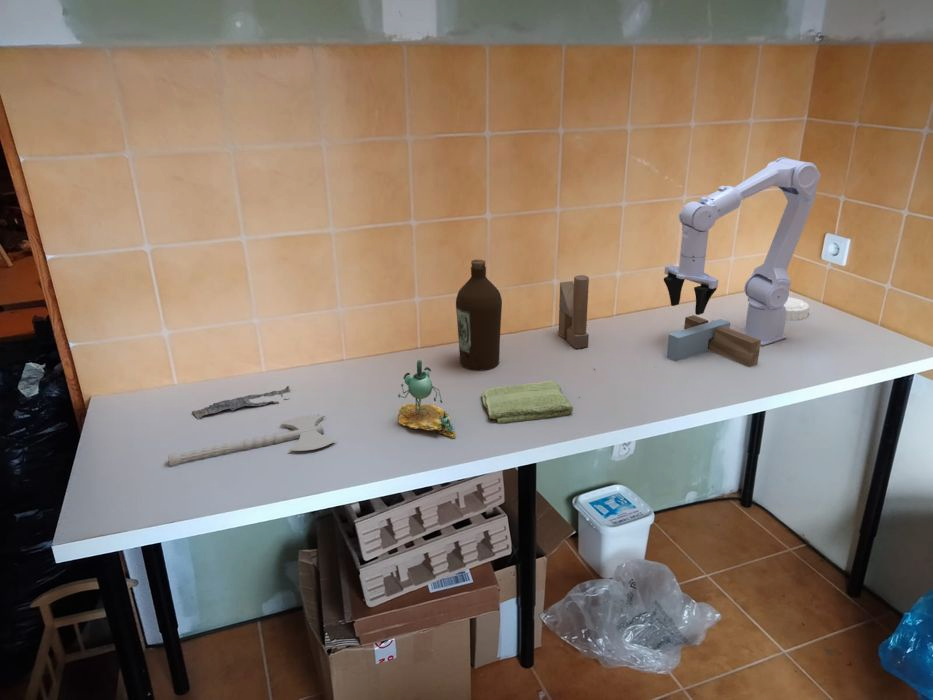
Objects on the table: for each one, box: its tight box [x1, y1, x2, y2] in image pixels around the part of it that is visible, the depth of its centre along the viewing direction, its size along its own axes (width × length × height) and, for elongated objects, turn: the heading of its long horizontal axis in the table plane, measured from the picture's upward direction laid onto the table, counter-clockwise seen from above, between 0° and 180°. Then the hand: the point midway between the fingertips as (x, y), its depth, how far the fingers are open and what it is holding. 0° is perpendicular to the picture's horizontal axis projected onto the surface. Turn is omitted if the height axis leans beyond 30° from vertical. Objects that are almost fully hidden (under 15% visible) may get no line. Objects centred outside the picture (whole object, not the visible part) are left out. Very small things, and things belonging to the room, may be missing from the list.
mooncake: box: [784, 296, 810, 321], centre depth 195 cm, size 12×12×4 cm
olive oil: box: [455, 259, 503, 371], centre depth 163 cm, size 11×11×25 cm
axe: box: [167, 414, 337, 467], centre depth 134 cm, size 30×14×2 cm, turn 112°
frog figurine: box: [397, 359, 457, 439], centre depth 140 cm, size 10×18×15 cm, turn 29°
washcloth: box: [481, 380, 574, 425], centre depth 147 cm, size 13×18×3 cm
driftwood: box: [192, 385, 291, 420], centre depth 151 cm, size 21×7×2 cm, turn 112°
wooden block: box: [558, 274, 590, 350], centre depth 176 cm, size 4×11×18 cm, turn 17°
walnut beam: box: [683, 314, 761, 368], centre depth 171 cm, size 3×20×6 cm, turn 32°
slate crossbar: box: [666, 318, 731, 362], centre depth 171 cm, size 18×3×6 cm, turn 122°
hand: (686, 309), depth 170 cm, fingers open, 7 cm apart
